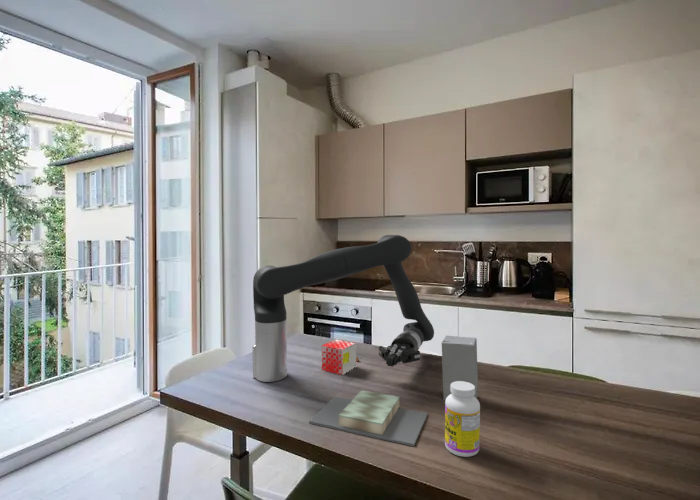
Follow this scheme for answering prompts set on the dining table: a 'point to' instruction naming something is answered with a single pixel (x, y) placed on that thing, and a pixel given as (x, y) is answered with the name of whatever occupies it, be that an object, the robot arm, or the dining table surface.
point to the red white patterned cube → (338, 356)
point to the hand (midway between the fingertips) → (390, 362)
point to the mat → (398, 430)
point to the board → (370, 412)
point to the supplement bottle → (462, 420)
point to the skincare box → (459, 362)
